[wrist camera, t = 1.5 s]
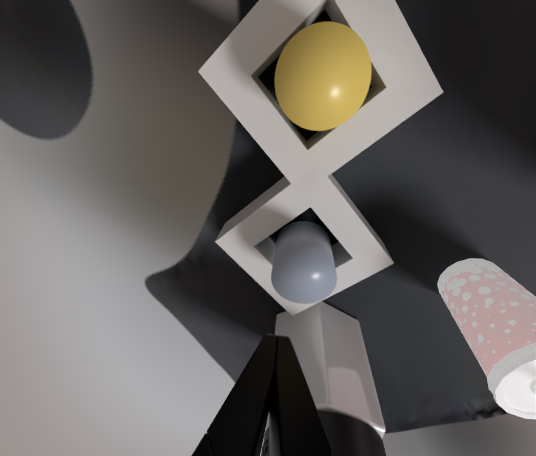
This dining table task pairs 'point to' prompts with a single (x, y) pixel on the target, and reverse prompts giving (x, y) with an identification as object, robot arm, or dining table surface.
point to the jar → (336, 378)
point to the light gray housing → (287, 208)
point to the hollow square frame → (370, 112)
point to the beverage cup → (496, 329)
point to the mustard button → (323, 76)
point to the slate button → (303, 263)
